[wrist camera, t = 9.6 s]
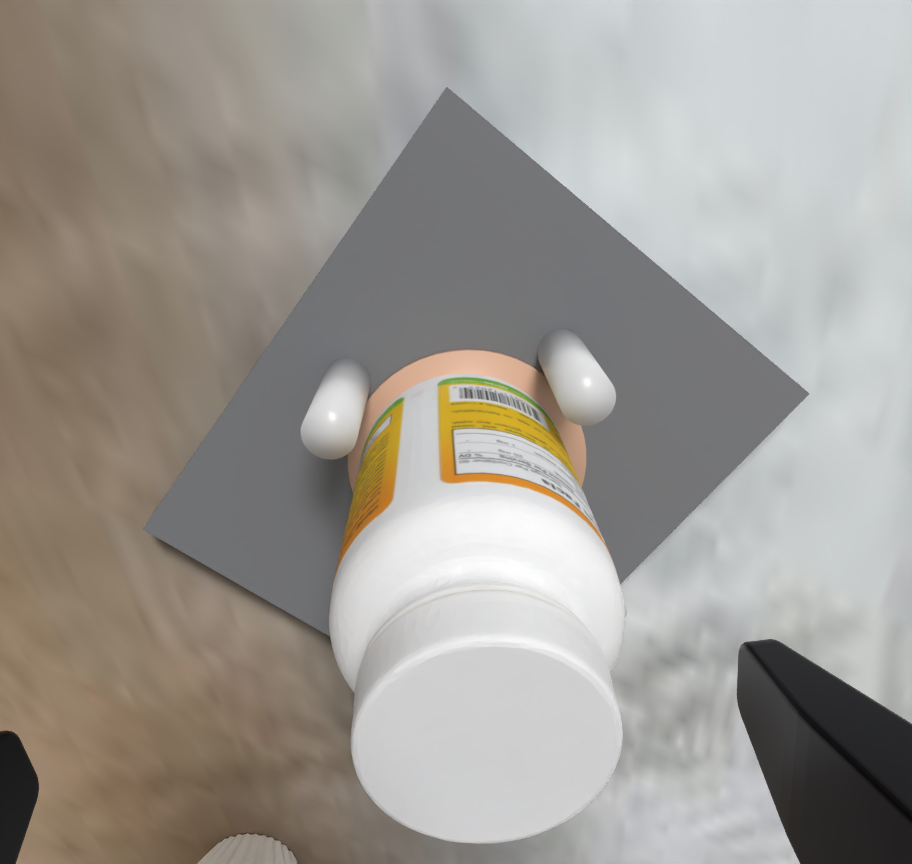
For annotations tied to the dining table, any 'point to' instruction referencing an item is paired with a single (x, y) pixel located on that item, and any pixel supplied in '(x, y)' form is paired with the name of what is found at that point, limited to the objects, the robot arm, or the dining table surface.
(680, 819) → the dining table surface
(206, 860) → the white lump
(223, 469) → the pin tray
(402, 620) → the supplement bottle
